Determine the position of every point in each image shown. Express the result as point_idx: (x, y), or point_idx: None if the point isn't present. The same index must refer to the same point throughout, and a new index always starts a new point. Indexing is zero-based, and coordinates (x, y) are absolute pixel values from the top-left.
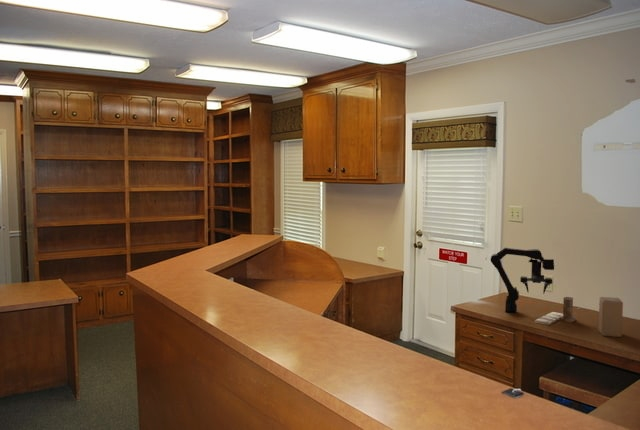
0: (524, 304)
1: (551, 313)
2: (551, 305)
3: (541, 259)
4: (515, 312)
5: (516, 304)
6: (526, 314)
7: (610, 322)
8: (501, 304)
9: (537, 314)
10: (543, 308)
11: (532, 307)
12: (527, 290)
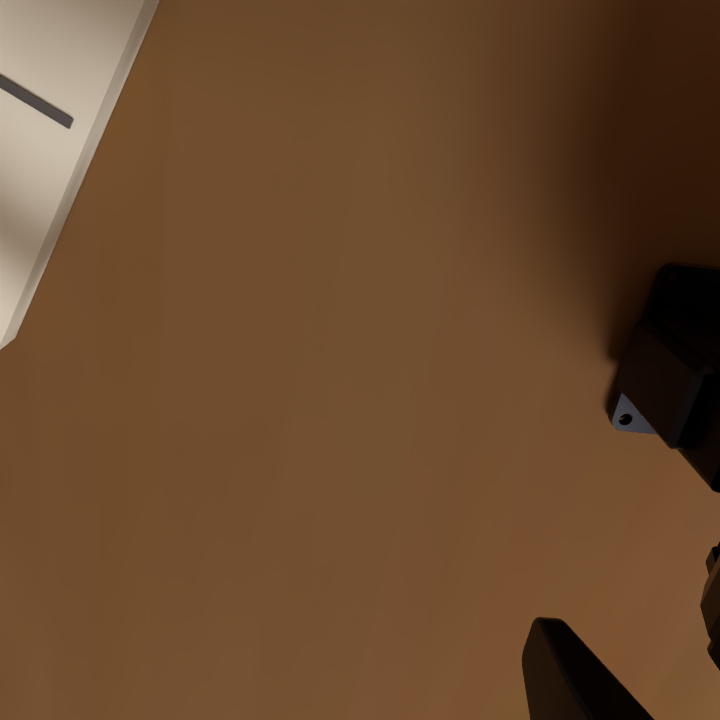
0: (390, 707)
1: (7, 227)
2: (53, 717)
3: None
4: (670, 263)
5: (681, 422)
6: (484, 198)
7: None
8: (699, 666)
9: (278, 237)
10: (157, 587)
11: (306, 607)
12: (625, 707)
